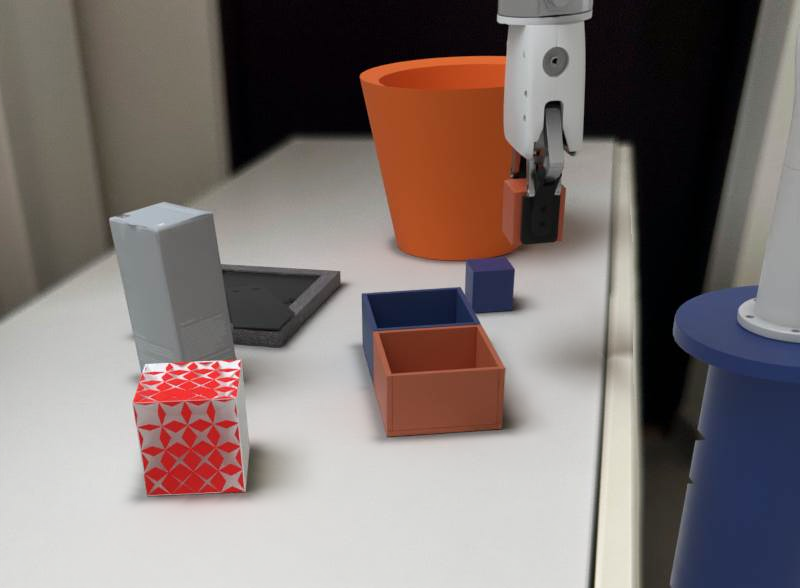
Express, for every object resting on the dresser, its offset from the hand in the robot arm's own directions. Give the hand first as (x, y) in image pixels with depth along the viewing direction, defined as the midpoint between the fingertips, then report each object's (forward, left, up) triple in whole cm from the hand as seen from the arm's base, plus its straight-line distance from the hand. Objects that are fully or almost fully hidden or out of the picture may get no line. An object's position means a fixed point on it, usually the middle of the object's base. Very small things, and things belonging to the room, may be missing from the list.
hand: (532, 232), depth 95 cm
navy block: (0, -18, -13) cm, 22 cm away
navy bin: (+10, -3, -13) cm, 16 cm away
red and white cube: (+31, +18, -13) cm, 38 cm away
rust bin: (+10, +8, -13) cm, 18 cm away
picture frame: (+27, -22, -13) cm, 37 cm away
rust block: (0, 0, 0) cm, 0 cm away
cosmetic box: (+33, -2, -13) cm, 35 cm away
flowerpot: (-1, -43, -13) cm, 45 cm away
